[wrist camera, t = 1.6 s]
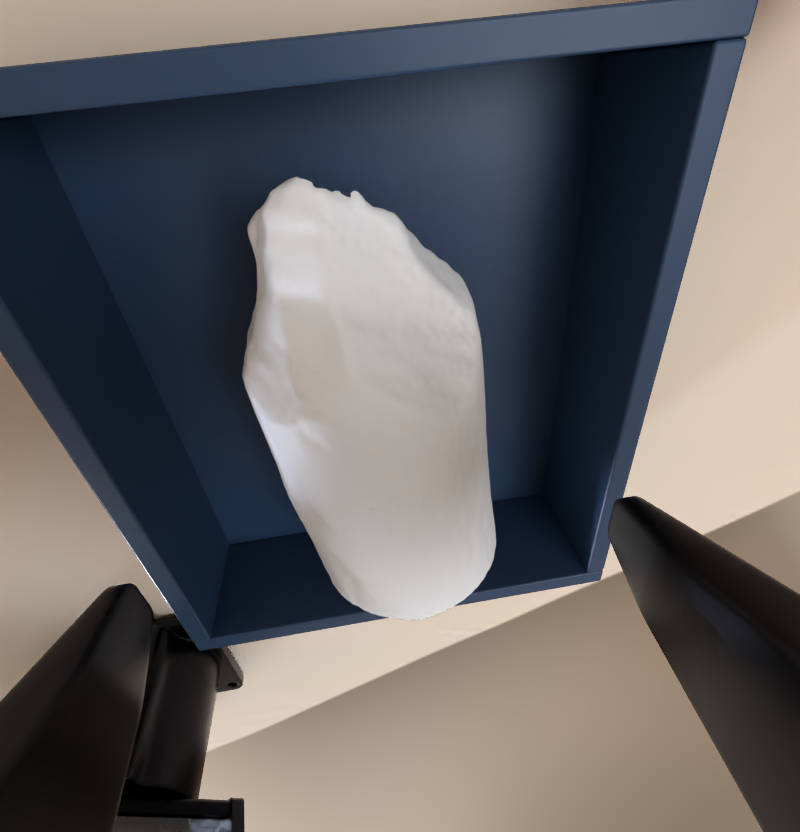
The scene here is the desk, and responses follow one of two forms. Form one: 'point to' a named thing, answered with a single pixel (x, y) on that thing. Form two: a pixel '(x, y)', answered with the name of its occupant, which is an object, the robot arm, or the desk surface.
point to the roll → (371, 399)
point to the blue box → (421, 214)
